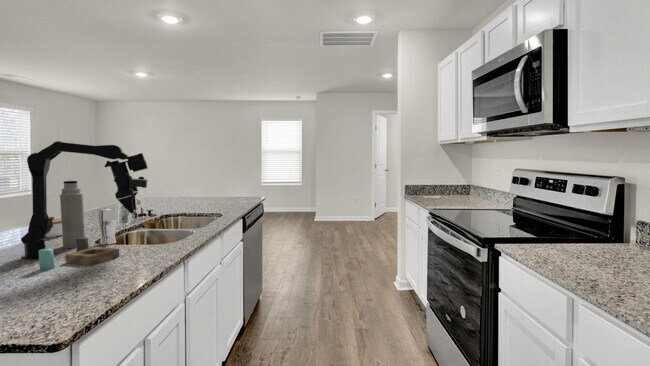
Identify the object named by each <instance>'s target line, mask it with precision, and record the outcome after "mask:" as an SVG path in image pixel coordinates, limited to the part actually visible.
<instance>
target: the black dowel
mask: <svg viewBox="0 0 650 366" xmlns="http://www.w3.org/2000/svg"><path fill="white" fill-rule="evenodd" d="M75 248H76V252H77V251H81V250H85V249H88V248H90V246H89V237H86V236H85V237H83V238H77V239H76V247H75Z"/></svg>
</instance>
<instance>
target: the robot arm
mask: <svg viewBox="0 0 650 366" xmlns="http://www.w3.org/2000/svg"><path fill="white" fill-rule="evenodd" d="M63 152H65V153H72V154H73V153H75V154H85V155H94V156H98V157H101V158H106V159H109V160H107V161H106V162H105V164H104V168H109V167H110V169H111V170H110V171H111V173H112V176H113V181H114V183H115V185H116V188H117V189H116V190H117V191H116V192H115V194H114V195H115V199H116V200H117V201H118V202H119V203H120V204H121V205H122V206H123V207H124V208H125V209H126V210H127V211H128V212H129V213H130V214H134V211H136V210H137V206H136V205H137V203H136V196H137V194H138V193H139V189H138V188H142V189H145V188H147V187H148V179H146V178H145V177H144V176H139V177H138V178H133V177H132V176H131V175H130V172H129V171H132V172H133V173H136V172H139V171H144V170H149V168H148V164H147V160H146V159H145V156H144V153H142V152H141V153H137V154H134V155H130V156H129V155H128V154H126V153H125V152H123V149H122V148H121V147H120V146H118V145H117V144H116V145H115V144H107V145H106V144H103V145H90V144H81V143H73V142H64V141H60V140H59V141H54V142H53V143H51V144H50V145H48V146H46V147H45V148H43V149H41V150H39V152H33V153H31V154H29V155H28V156H27V158H26V163H27V166H28V170H29V173H30V174H31V178H32V179H31V181H32V182H31V184H32V185H31V187H32V195H31V196H32V215H31V218H30V221H29V224H28V228H27V229H28V230H27V233H25V234H24V235H23V236H22V237H21V238H20V241H21V242H22V244H24V256H23V255H22V256H21V257H20V259H24V260H26V259H27V260H36V259H39V250H42V249H46V244H45V243H46V241H45V238H46V234H48V233H49V232H50V231H51V228H52V227H53V225H52V220H53V217H54V216H49V215H48V212H47V211H48V210H47V209H48V208H47V201H48V199H47V196H48V195H47V175H48V172H49V170H50V167H51V162H52V160H53V159H56V158H57V157H58V156H59V155H60V154H61V153H63ZM110 160H114V161H110ZM119 160H123V161H121V162H120V161H119Z"/></svg>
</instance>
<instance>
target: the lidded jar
mask: <svg viewBox="0 0 650 366" xmlns="http://www.w3.org/2000/svg"><path fill="white" fill-rule="evenodd" d="M52 217H53V220H52V225H53V227H52V228H51V231H50V232H49V233H48V234H46V236H45V238H57V237H56V236H59V237H61V236H60V235H62V220H61V218H60V217H59V218H55V217H54V216H52Z"/></svg>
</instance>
